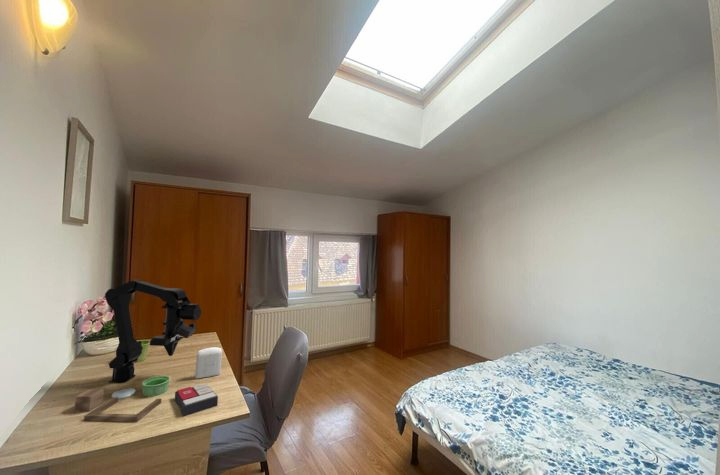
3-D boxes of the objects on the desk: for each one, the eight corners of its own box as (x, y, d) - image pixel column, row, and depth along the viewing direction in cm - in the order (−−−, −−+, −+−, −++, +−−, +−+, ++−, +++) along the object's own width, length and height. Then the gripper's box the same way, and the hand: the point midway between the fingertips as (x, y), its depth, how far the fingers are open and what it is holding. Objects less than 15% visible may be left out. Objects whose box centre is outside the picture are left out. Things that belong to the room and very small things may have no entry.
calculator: (206, 381, 114) (218, 394, 103) (206, 392, 113) (217, 406, 102) (175, 389, 106) (184, 404, 95) (174, 401, 106) (183, 417, 95)
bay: (83, 420, 90) (84, 415, 91) (113, 401, 102) (114, 397, 102) (137, 421, 91) (137, 417, 91) (161, 402, 102) (161, 398, 103)
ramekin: (162, 396, 107) (163, 385, 107) (135, 398, 105) (136, 386, 105) (173, 385, 115) (174, 374, 116) (148, 386, 114) (149, 375, 114)
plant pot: (152, 360, 140) (154, 342, 140) (129, 366, 132) (131, 347, 132) (144, 355, 145) (146, 338, 145) (122, 361, 137) (123, 343, 137)
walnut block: (74, 411, 95) (76, 396, 95) (88, 403, 100) (89, 389, 100) (89, 411, 95) (90, 396, 96) (102, 403, 100) (103, 389, 101)
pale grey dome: (106, 399, 103) (106, 397, 103) (121, 389, 110) (121, 388, 110) (125, 399, 104) (125, 397, 104) (139, 390, 110) (139, 388, 111)
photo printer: (219, 371, 130) (221, 344, 131) (221, 375, 127) (223, 347, 127) (194, 376, 125) (196, 348, 125) (195, 380, 121) (197, 351, 122)
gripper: (178, 325, 110) (175, 365, 110) (204, 314, 129) (201, 348, 128) (150, 324, 110) (147, 364, 109) (180, 313, 129) (177, 347, 128)
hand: (170, 355), depth 119 cm, fingers closed
